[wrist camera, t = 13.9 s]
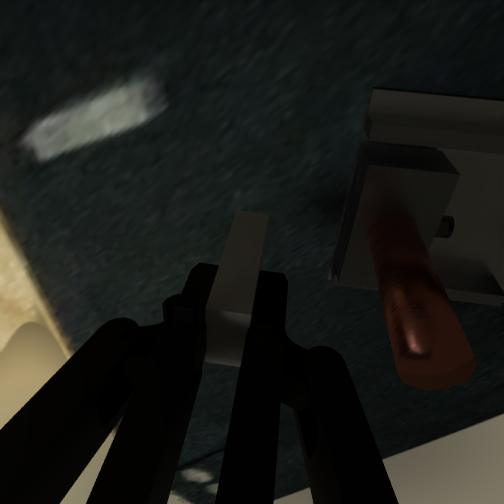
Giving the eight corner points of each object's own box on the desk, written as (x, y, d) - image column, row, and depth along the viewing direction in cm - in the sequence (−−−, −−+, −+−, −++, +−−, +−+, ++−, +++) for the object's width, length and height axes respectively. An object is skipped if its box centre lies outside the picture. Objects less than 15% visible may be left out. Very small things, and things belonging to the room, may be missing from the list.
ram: (361, 142, 19) (406, 278, 10) (465, 153, 19) (604, 302, 10) (335, 252, 23) (350, 416, 14) (420, 262, 23) (489, 437, 14)
